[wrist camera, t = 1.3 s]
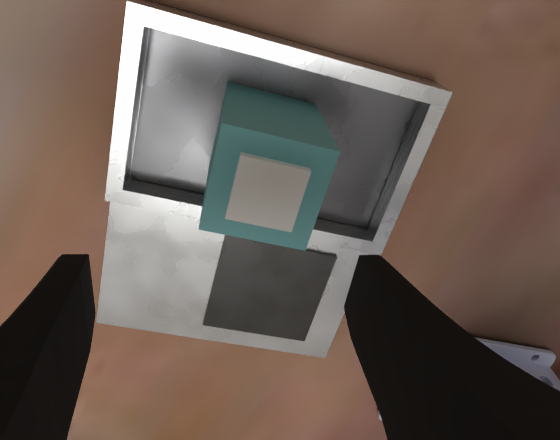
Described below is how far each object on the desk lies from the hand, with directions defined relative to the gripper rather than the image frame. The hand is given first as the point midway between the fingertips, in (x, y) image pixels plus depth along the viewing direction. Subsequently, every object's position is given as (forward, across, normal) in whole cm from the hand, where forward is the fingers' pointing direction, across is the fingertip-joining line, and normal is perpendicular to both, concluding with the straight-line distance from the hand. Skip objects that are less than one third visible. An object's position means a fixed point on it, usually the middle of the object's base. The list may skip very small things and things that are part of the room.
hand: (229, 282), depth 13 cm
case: (+11, -3, 0) cm, 11 cm away
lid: (+10, -2, +9) cm, 13 cm away
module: (+10, -2, 0) cm, 10 cm away
